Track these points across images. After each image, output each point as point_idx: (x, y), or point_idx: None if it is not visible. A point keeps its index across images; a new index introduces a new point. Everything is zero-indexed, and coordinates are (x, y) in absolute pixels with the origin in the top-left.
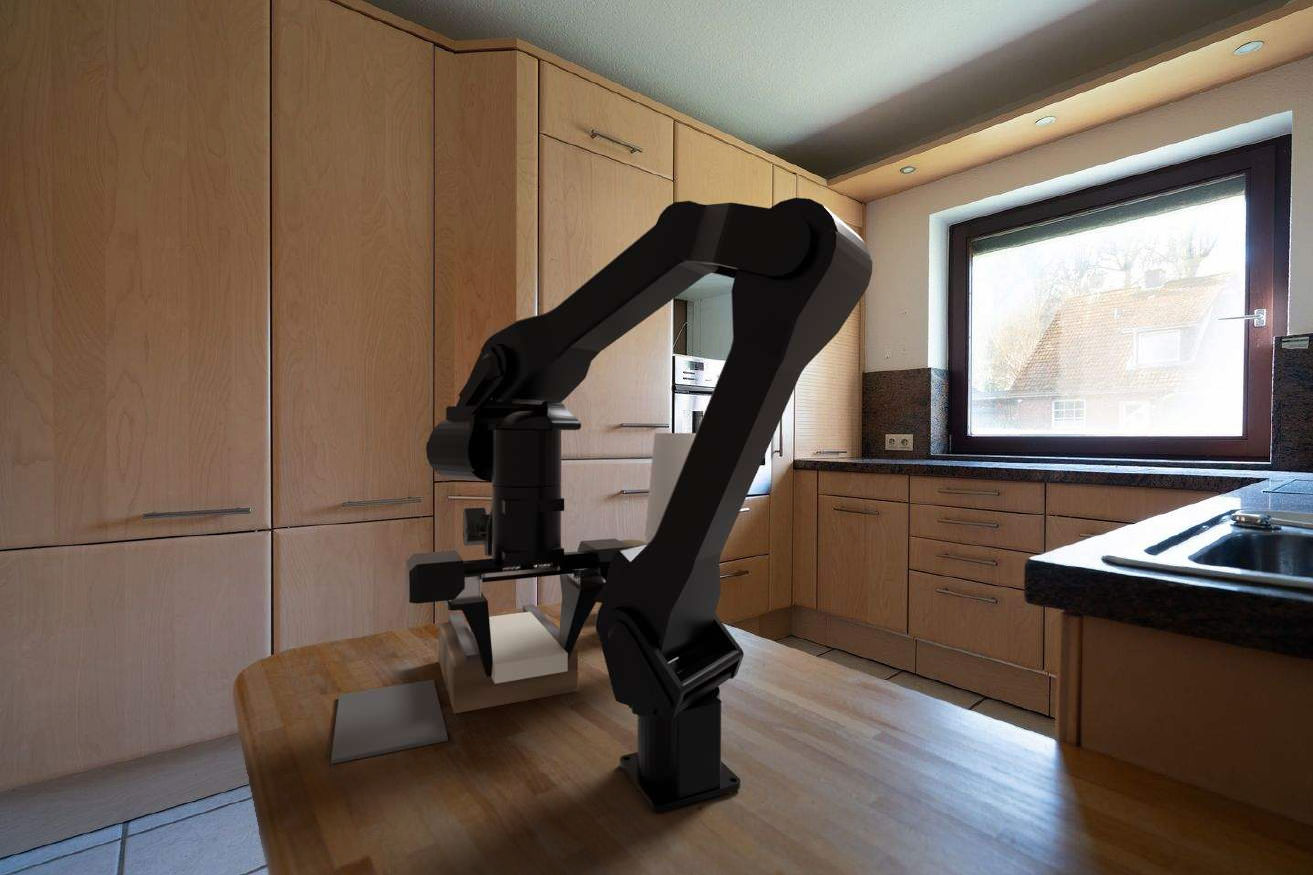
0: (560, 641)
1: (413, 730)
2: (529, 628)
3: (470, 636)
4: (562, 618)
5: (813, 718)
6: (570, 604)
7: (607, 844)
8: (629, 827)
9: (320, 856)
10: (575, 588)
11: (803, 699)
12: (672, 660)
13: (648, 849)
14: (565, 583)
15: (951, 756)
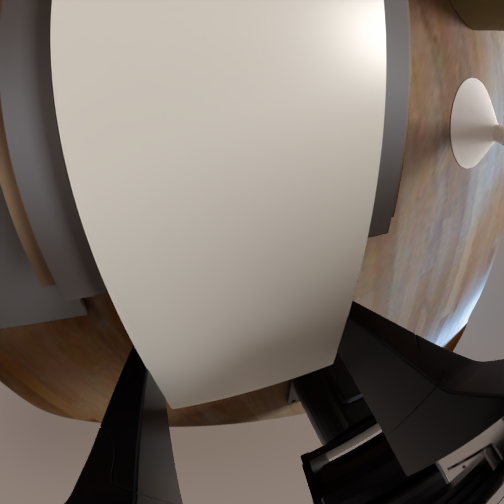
0: (350, 332)
1: (28, 286)
2: (329, 148)
3: (44, 75)
4: (392, 370)
5: (445, 296)
6: (404, 431)
7: (246, 415)
8: (265, 406)
9: (63, 414)
10: (419, 468)
11: (464, 267)
12: (469, 152)
13: (267, 414)
14: (465, 432)
15: (441, 335)
